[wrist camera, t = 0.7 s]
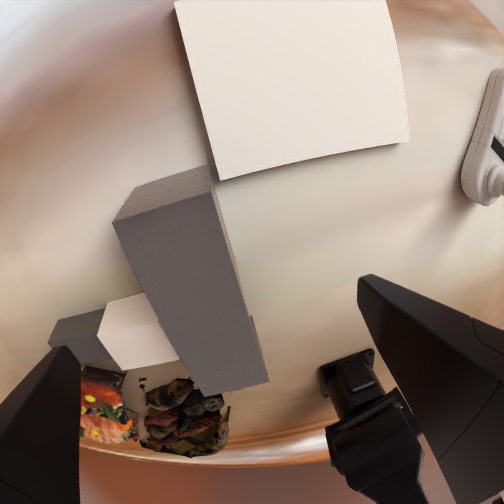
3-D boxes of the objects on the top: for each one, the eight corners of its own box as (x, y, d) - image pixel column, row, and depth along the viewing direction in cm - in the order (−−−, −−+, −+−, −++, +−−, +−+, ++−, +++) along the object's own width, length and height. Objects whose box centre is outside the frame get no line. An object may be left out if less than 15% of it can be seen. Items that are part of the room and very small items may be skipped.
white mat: (402, 138, 20) (409, 141, 19) (219, 176, 19) (220, 180, 18) (374, -9, 14) (381, -12, 13) (175, 6, 13) (173, 2, 12)
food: (248, 375, 30) (253, 402, 26) (215, 445, 38) (217, 465, 35) (42, 342, 24) (31, 368, 21) (71, 424, 32) (67, 444, 29)
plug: (191, 321, 24) (192, 356, 21) (77, 346, 24) (67, 378, 20) (174, 284, 22) (171, 318, 19) (55, 315, 22) (40, 347, 18)
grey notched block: (255, 328, 26) (269, 381, 21) (200, 341, 26) (204, 396, 20) (207, 164, 19) (211, 191, 13) (135, 187, 18) (111, 222, 13)
